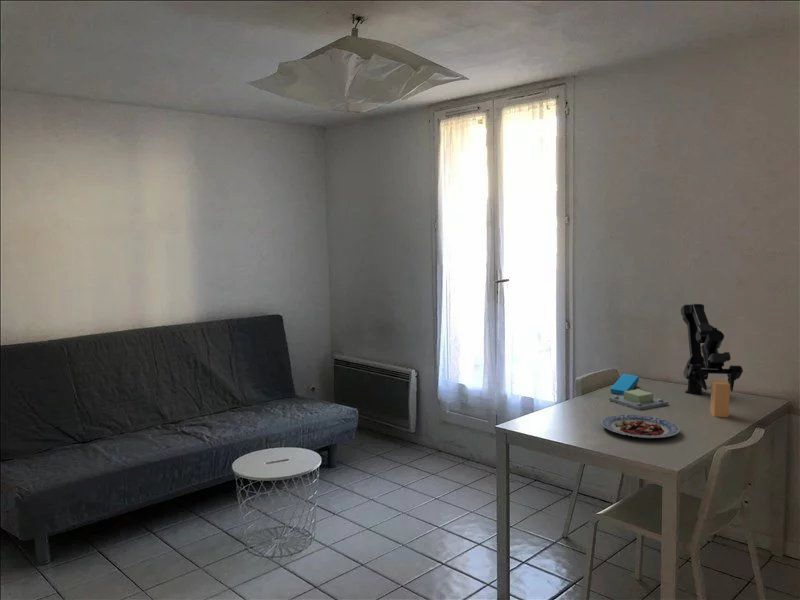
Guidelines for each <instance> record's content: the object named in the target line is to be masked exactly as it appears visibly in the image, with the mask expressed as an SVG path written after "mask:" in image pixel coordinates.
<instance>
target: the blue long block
mask: <svg viewBox="0 0 800 600" xmlns="http://www.w3.org/2000/svg"><path fill="white" fill-rule="evenodd" d="M639 378H640V377H639V375H633V374H625V373H623V374H622V375H621V376H620V377H619V378H618V379H617V380H616V382H615V383H614V384H613V385H612V386H611V387H610V393H611V394H614V393H616V395H620V394H622V395H624V391H630V390H634V388H636V387H638V383H639V382H640V379H639ZM622 395H621V396H622Z"/></svg>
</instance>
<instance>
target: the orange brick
mask: <svg viewBox="0 0 800 600" xmlns="http://www.w3.org/2000/svg"><path fill="white" fill-rule="evenodd" d="M710 383H711V385H710V386H711V388H710V390H711V391H710V405H709V406H710V409H709V413H710V414H711V416H713V417H719V418H722V417H723V418H729V417H730V416H729V412H730V394H731V393H730V392H731V390H730V384H729V383H728V381H726V380H712V381H711V382H710Z"/></svg>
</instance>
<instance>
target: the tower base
mask: <svg viewBox="0 0 800 600" xmlns="http://www.w3.org/2000/svg"><path fill="white" fill-rule="evenodd" d="M654 396H655V395H654V393H652V392H649V391H647V390H646V391H645V390H642V389H639V388H636V389H632V390H630V391H624V395H613V396H611V397H609V398H608V401H609V400H610V401H609V402H612V401H613V403H615V402H617V403H616V404H618V403H619V404H618V405H621V404H623V405H622V406H625V405H626V407H628V406H629V407H628V408H631V407H632V409H634V408H636V409H635V410H637V409H639V410H638V411H641V409H643V410H647V409H648V410H649V409H653V408H658V407H664V406H669V401H667V400H664V399H663V398H657V397H654Z"/></svg>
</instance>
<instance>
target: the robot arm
mask: <svg viewBox="0 0 800 600" xmlns="http://www.w3.org/2000/svg"><path fill="white" fill-rule="evenodd" d="M680 315H682V321H684V323H685V324H686V327H687V335H688V336H687V337H688V349H689V358H688V359H687V362H686V365H685V368H684V370H683V377H684V379H686V380H687V389H686V390H685V393H687V394H694V395H700V394H701V395H703V393H705V391H707V390H708V386H707V382H706V380H707V381H708V378H709V374H711V375H727V383H729V384H730V392H733V390H734V384H735V381H737V380H738V379H740V377H742V374H743V372H744V370H743V367H742V366H741V365H736V364H735V365H734V364H732V365H729V367H728V368H723V367H724V366H725V363H726V362H730V360H731V354H730V352H729V351H725V352H722V353H720V352H719V350H718V349H720V348H721V345H722V343H723V341H724V338H725V334H724V333H723V332H722V331H721V330H719V329H718V328H717V327H714V326H713V325H711V324H710V322H709V319H708V317H707V314H706V311H705V304H702V303H692V304H684V305H683V306H681V308H680ZM701 344H702V345H701Z"/></svg>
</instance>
